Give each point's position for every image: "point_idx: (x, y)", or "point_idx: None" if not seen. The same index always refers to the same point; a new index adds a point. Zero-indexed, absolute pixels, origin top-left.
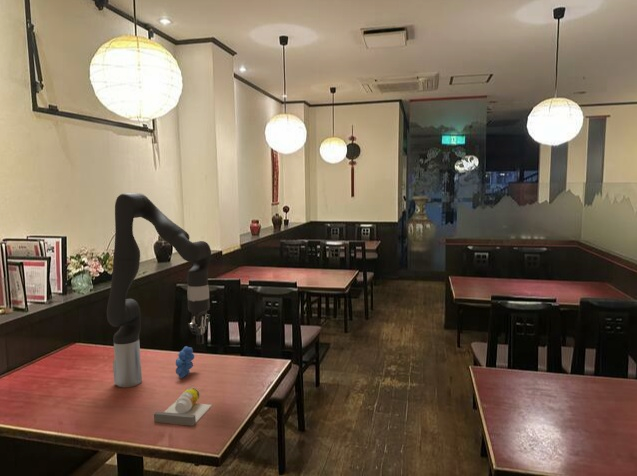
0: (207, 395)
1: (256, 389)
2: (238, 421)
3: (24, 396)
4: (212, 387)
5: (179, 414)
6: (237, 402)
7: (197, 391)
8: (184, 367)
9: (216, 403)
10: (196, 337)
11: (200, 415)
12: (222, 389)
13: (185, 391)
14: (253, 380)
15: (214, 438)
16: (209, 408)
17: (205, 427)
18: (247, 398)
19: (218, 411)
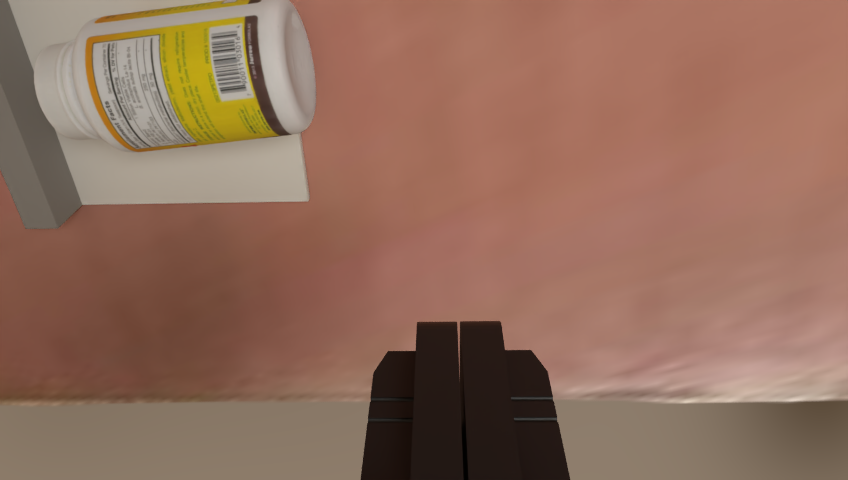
0: (449, 95)
1: (579, 352)
2: (208, 383)
3: None
4: (592, 68)
5: (4, 124)
6: (396, 314)
7: (280, 134)
8: None
9: (351, 208)
10: (366, 459)
11: (161, 195)
12: (562, 159)
13: (188, 67)
14: (717, 298)
15: (23, 345)
16: (273, 198)
17: (80, 268)
18: None
19: (262, 260)
